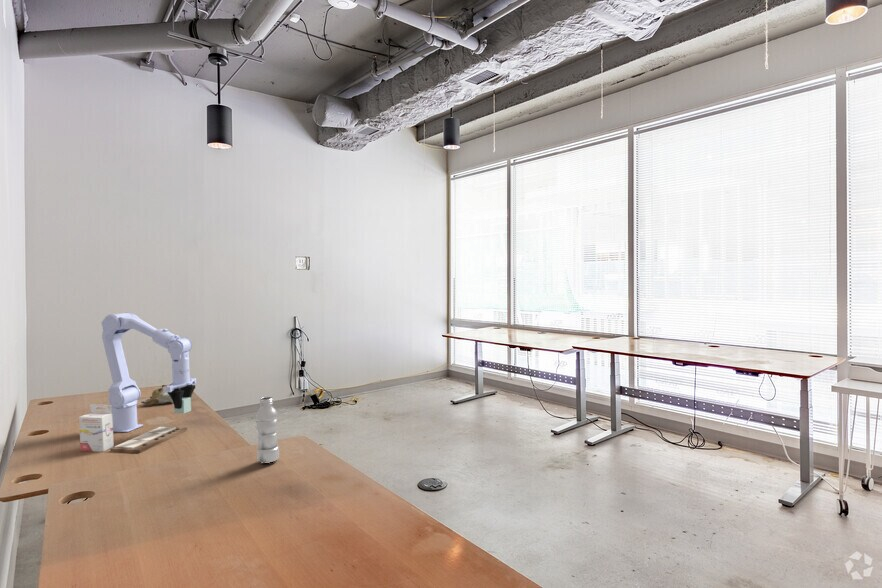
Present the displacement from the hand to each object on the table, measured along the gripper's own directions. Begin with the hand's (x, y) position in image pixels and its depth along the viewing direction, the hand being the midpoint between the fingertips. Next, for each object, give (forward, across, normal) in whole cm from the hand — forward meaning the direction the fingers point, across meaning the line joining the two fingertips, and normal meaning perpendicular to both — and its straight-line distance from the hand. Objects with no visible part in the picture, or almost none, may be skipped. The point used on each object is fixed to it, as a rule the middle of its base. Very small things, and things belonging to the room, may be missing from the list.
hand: (182, 406), depth 183 cm
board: (+9, -12, +4) cm, 15 cm away
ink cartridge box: (+9, -22, +16) cm, 28 cm away
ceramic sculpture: (+9, +33, +35) cm, 49 cm away
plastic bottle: (+9, -25, -48) cm, 55 cm away
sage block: (+2, 0, 0) cm, 2 cm away
